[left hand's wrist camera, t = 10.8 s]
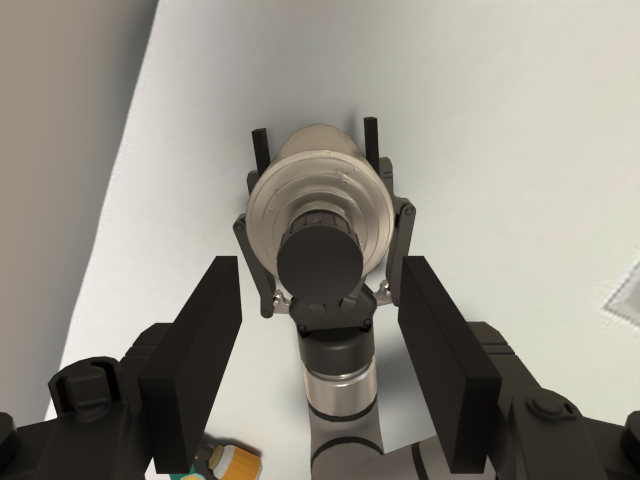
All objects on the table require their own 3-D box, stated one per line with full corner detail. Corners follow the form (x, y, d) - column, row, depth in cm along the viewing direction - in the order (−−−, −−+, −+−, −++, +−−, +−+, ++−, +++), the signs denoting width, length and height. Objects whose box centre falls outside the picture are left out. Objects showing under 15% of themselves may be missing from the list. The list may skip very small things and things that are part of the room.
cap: (351, 292, 19) (353, 312, 17) (274, 279, 19) (269, 298, 17) (368, 219, 18) (374, 233, 16) (286, 204, 17) (282, 217, 16)
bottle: (351, 213, 41) (389, 356, 19) (273, 199, 41) (214, 329, 18) (369, 133, 38) (441, 187, 16) (285, 117, 38) (234, 147, 15)
